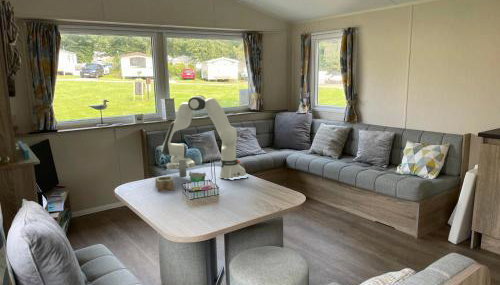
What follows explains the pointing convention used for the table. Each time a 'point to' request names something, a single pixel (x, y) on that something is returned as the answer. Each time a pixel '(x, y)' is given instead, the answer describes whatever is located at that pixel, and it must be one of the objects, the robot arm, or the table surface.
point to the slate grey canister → (182, 168)
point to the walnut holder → (164, 183)
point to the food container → (197, 177)
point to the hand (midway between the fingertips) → (182, 167)
